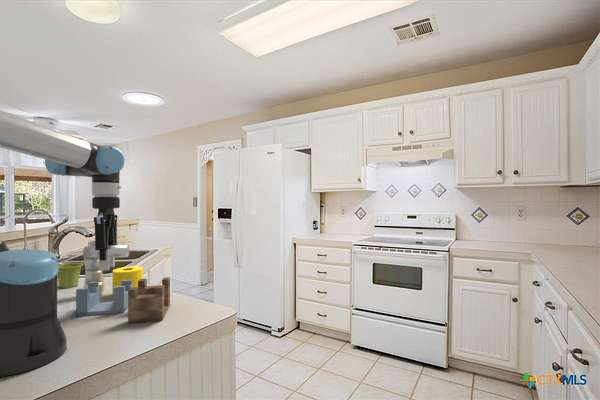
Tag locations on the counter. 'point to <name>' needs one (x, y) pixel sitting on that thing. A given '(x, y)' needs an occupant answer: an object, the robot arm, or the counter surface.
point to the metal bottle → (93, 271)
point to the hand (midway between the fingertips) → (106, 268)
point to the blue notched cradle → (90, 302)
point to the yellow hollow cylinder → (127, 275)
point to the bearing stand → (148, 301)
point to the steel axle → (114, 251)
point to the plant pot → (69, 274)
